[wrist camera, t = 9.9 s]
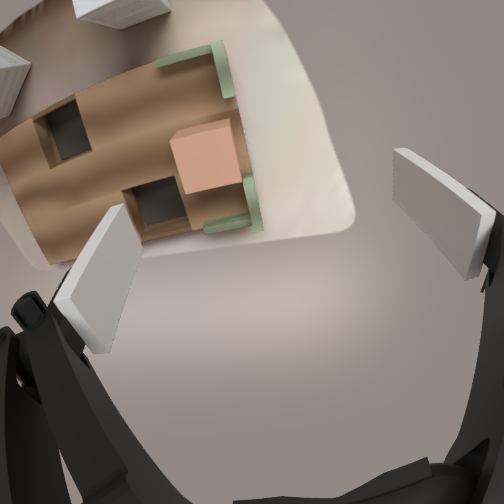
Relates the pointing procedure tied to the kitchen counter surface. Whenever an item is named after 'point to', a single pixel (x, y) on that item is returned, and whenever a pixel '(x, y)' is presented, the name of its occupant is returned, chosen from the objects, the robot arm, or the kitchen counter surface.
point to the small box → (119, 11)
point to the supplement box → (11, 79)
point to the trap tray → (128, 156)
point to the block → (206, 156)
